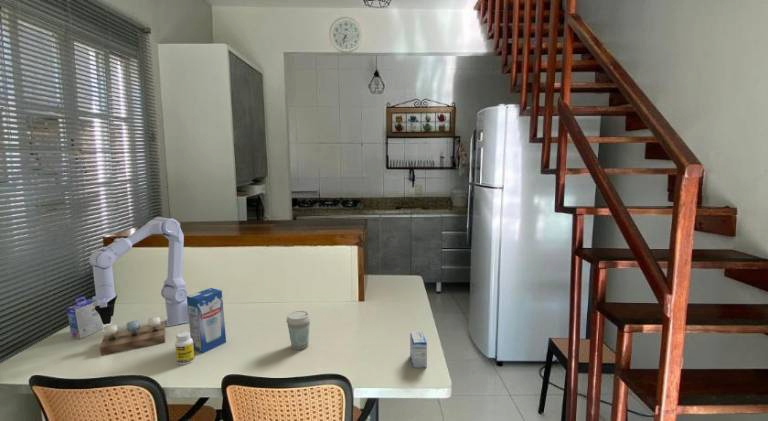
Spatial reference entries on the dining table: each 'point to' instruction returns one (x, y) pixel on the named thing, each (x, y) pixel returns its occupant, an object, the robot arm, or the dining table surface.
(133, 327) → the middle knob
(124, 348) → the knob panel
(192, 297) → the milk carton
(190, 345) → the supplement bottle
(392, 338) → the dining table surface
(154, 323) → the knob
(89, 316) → the ink cartridge box
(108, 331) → the knob
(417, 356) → the medicine box
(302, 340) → the coffee cup
